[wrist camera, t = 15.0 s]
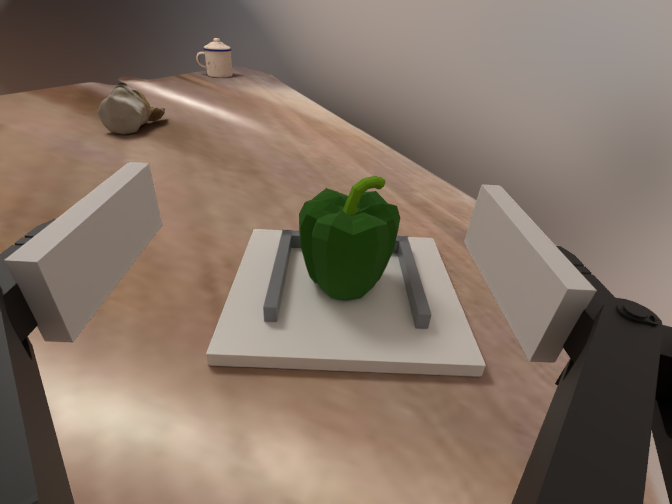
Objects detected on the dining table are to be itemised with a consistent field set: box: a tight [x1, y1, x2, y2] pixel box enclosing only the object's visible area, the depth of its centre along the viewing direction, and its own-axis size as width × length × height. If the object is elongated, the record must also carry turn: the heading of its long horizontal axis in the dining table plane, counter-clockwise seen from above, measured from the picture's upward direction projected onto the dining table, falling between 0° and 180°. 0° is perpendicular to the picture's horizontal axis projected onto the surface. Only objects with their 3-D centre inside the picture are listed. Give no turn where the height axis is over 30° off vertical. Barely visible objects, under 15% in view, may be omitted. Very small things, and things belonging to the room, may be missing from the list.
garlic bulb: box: [98, 83, 165, 135], centre depth 74 cm, size 11×9×15 cm
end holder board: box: [206, 229, 486, 377], centre depth 34 cm, size 20×18×3 cm
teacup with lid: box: [196, 38, 233, 78], centre depth 131 cm, size 12×9×12 cm
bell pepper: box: [299, 176, 400, 301], centre depth 32 cm, size 8×8×10 cm
